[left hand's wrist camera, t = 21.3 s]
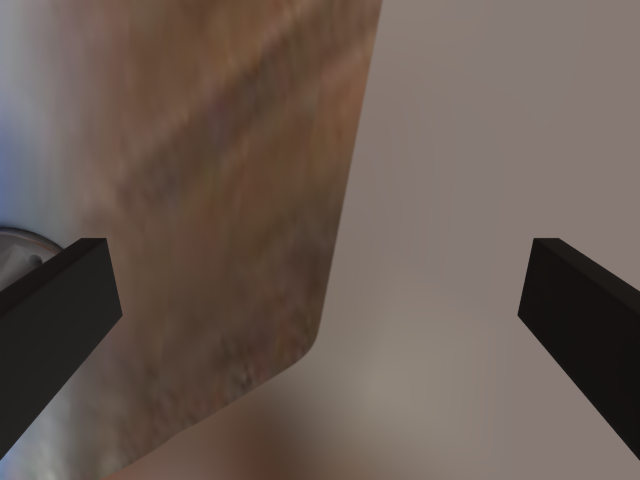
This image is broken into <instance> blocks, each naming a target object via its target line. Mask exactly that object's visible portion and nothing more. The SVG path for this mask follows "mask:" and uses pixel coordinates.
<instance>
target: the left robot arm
mask: <svg viewBox="0 0 640 480" xmlns="http://www.w3.org/2000/svg"><path fill="white" fill-rule="evenodd" d="M121 317H122V310H121V306H120V301H119V296H118V291H117V287H116V282H115V277H114V273H113V268H112V263H111V258H110V254H109V249H108V244H107V240H106V238H81V239H79V240H78V241H76V242H75V243H73V244H72V245H70V246H69V247H67V248H65V249H64V250H63V249H62V248H60V247H59V246H57V245H56V244H54V243H52V242H51V241H49V240H47V239H45V238H43V237H41V236H38V235H36V234H33V233H30V232H27V231H23V230H18V229H9V228H0V460H1V459H2V458H3V457H4V456H5V454H6V453H7V452H8V451H9V450H10V448H11V447H12V446H13V445H14V444H15V442H16V441H17V440H18V439H19V438H20V437H21V435H22V434H23V433H24V432H25V431H26V429H27V428H28V427H29V426H30V425H31V423H32V422H33V421H34V420H35V419H36V418H37V416H38V415H39V414H40V413H41V412H42V410H43V409H44V408H45V407H46V406H47V404H48V403H49V402H50V401H51V400H52V399H53V397H54V396H55V395H56V394H57V393H58V391H59V390H60V389H61V388H62V387H63V385H64V384H65V383H66V382H67V381H68V380H69V378H70V377H71V376H72V375H73V374H74V372H75V371H76V370H77V369H78V368H79V366H80V365H81V364H82V363H83V362H84V361H85V359H86V358H87V357H88V356H89V355H90V353H91V352H92V351H93V350H94V349H95V347H96V346H97V345H98V344H99V343H100V342H101V340H102V339H103V338H104V337H105V336H106V334H107V333H108V332H109V331H110V330H111V328H112V327H113V326H114V325H115V324H116V323H117V321H118V320H119V319H120V318H121ZM518 317H519V318H520V319H521V320H522V321H523V323H524V324H525V325H526V326H527V327H528V328H529V330H530V331H531V332H532V333H533V334H534V336H535V337H536V338H537V339H538V340H539V342H540V343H541V344H542V345H543V346H544V347H545V349H546V350H547V351H548V352H549V353H550V355H551V356H552V357H553V358H554V359H555V361H556V362H557V363H558V364H559V365H560V366H561V368H562V369H563V370H564V371H565V372H566V374H567V375H568V376H569V377H570V378H571V380H572V381H573V382H574V383H575V384H576V385H577V387H578V388H579V389H580V390H581V391H582V393H583V394H584V395H585V396H586V397H587V398H588V400H589V401H590V402H591V403H592V404H593V406H594V407H595V408H596V409H597V410H598V412H599V413H600V414H601V415H602V416H603V417H604V419H605V420H606V421H607V422H608V423H609V425H610V426H611V427H612V428H613V429H614V431H615V432H616V433H617V434H618V435H619V437H620V438H621V439H622V440H623V441H624V442H625V444H626V445H627V446H628V447H629V448H630V450H631V451H632V452H633V453H634V454H635V455H636V457H637V458H638V459H639V460H640V291H638V290H637V289H635V288H634V287H632V286H631V285H629V284H628V283H626V282H625V281H623V280H622V279H620V278H619V277H617V276H615V275H614V274H612V273H611V272H609V271H608V270H606V269H605V268H603V267H602V266H600V265H599V264H597V263H596V262H594V261H593V260H591V259H590V258H588V257H587V256H585V255H584V254H582V253H581V252H579V251H578V250H576V249H575V248H573V247H571V246H570V245H568V244H567V243H565V242H564V241H562V240H561V239H559V238H534V240H533V244H532V249H531V254H530V258H529V263H528V268H527V273H526V277H525V282H524V287H523V291H522V296H521V301H520V306H519V310H518Z"/></svg>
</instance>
